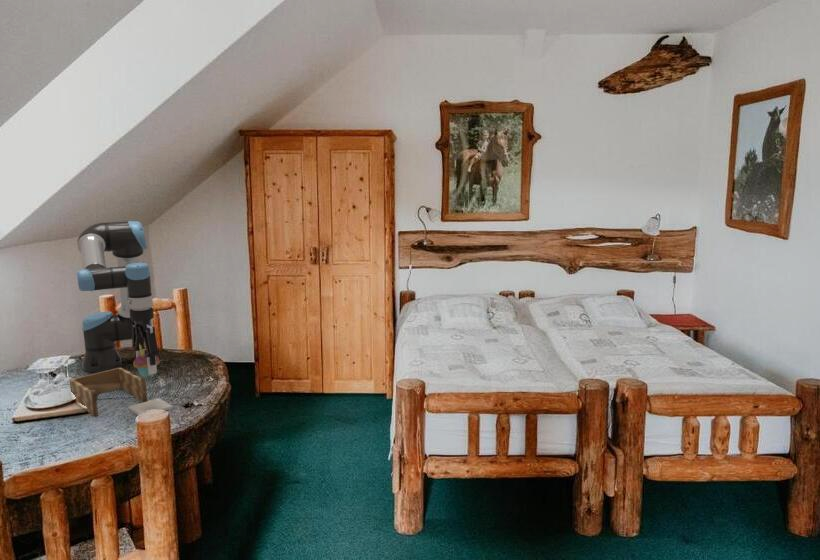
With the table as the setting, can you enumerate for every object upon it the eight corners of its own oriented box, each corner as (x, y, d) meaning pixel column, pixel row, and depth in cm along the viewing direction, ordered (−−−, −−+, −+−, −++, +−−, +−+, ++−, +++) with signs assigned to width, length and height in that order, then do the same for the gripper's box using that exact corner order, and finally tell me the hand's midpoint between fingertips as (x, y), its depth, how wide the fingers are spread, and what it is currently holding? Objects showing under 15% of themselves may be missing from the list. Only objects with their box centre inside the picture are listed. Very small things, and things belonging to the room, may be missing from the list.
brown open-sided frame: (71, 399, 225) (69, 376, 223) (122, 386, 238) (120, 364, 237) (94, 416, 210) (91, 391, 208) (147, 401, 223) (145, 377, 221)
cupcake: (144, 380, 208) (140, 346, 206) (129, 375, 212) (125, 342, 210) (165, 372, 215) (162, 340, 213) (150, 368, 220) (147, 336, 217)
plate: (128, 409, 216) (128, 406, 216) (159, 400, 224) (158, 398, 224) (142, 418, 209) (141, 415, 209) (172, 408, 217) (172, 405, 216)
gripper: (117, 305, 214) (124, 366, 218) (143, 315, 199) (149, 380, 204) (139, 301, 219) (144, 361, 223) (165, 310, 205) (171, 374, 209)
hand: (147, 370), depth 214 cm, fingers closed on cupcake, 8 cm apart
